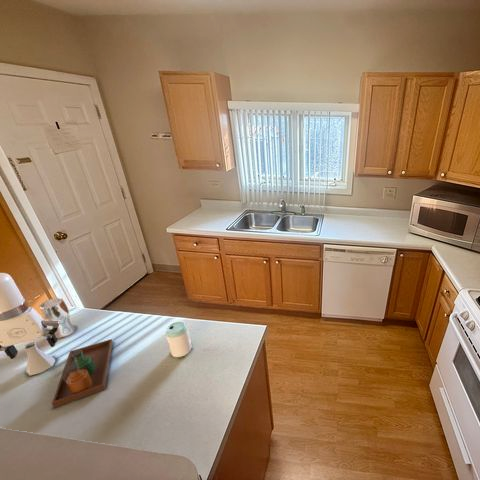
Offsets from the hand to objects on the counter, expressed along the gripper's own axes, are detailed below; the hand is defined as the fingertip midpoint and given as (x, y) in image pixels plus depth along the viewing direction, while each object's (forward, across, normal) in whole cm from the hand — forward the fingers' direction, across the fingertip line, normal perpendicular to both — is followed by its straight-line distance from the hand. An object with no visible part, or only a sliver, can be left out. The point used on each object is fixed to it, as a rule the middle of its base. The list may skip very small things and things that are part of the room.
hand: (35, 349), depth 87 cm
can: (+9, +42, -16) cm, 46 cm away
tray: (+8, +13, -10) cm, 18 cm away
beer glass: (+8, +2, +17) cm, 19 cm away
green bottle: (+7, +13, -11) cm, 19 cm away
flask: (+8, -1, 0) cm, 8 cm away
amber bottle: (+7, +13, -18) cm, 23 cm away
